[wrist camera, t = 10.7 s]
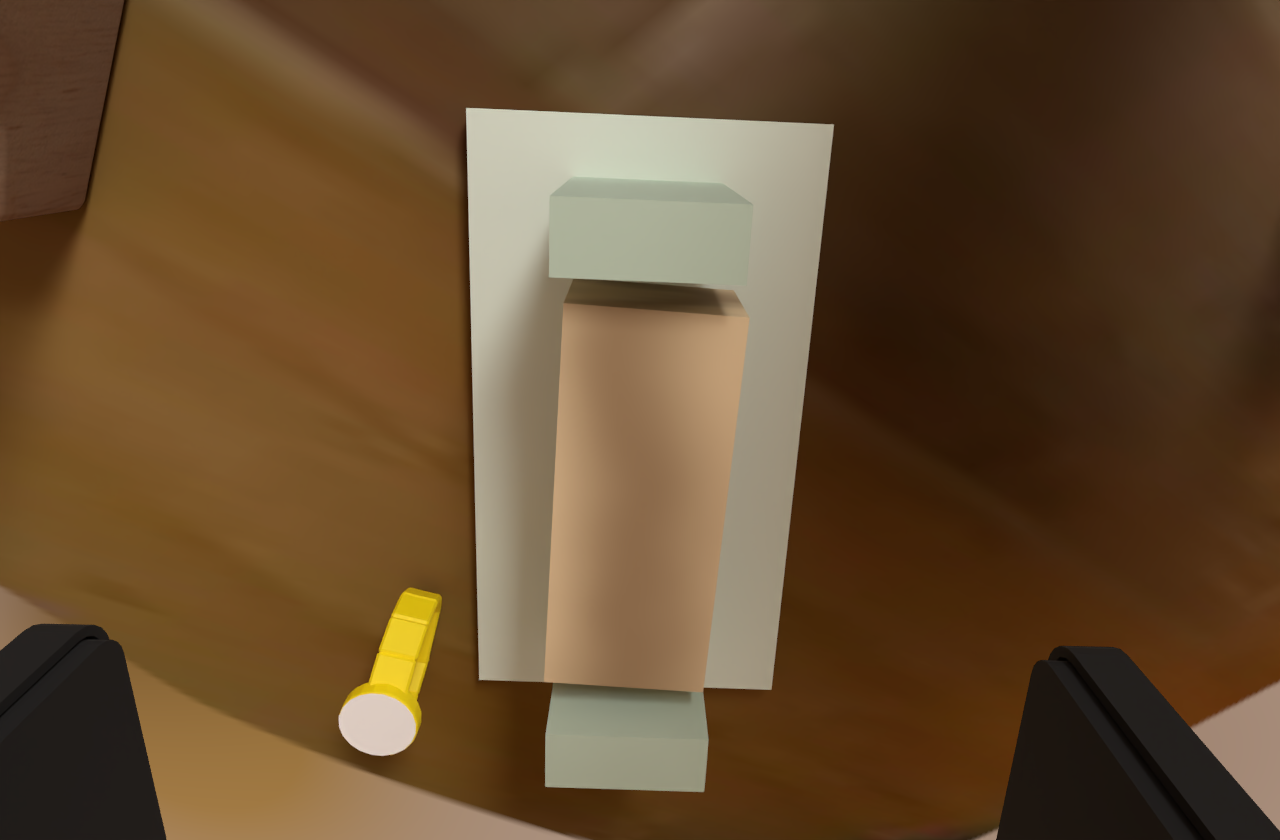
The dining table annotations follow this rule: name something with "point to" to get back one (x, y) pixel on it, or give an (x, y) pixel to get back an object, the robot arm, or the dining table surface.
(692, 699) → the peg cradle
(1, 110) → the wooden block
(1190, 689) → the dining table surface
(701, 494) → the tan wooden bar
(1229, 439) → the dining table surface
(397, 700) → the watch
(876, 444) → the dining table surface
